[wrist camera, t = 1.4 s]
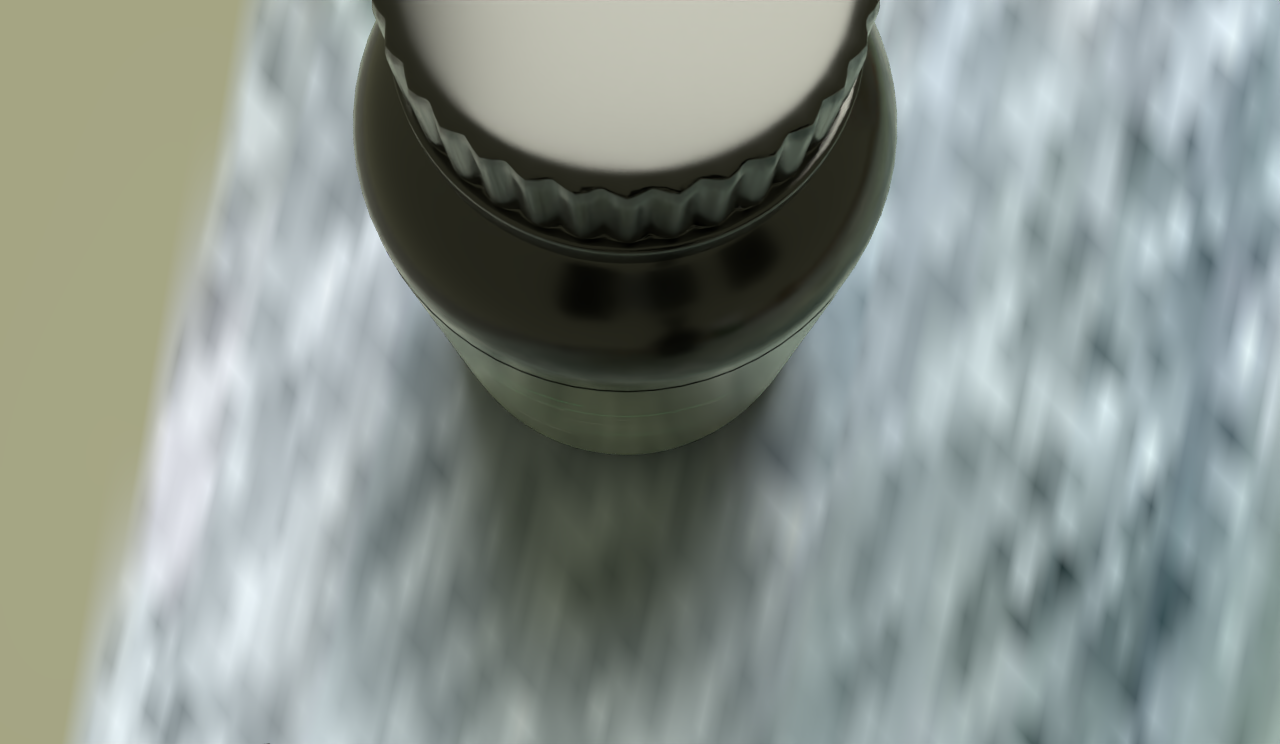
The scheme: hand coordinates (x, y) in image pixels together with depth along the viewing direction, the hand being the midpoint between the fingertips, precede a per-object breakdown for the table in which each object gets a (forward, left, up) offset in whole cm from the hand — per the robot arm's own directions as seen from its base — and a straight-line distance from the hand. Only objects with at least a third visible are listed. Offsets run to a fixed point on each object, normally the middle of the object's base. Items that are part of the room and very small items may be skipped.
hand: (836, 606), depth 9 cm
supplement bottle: (+3, -5, -12) cm, 14 cm away
